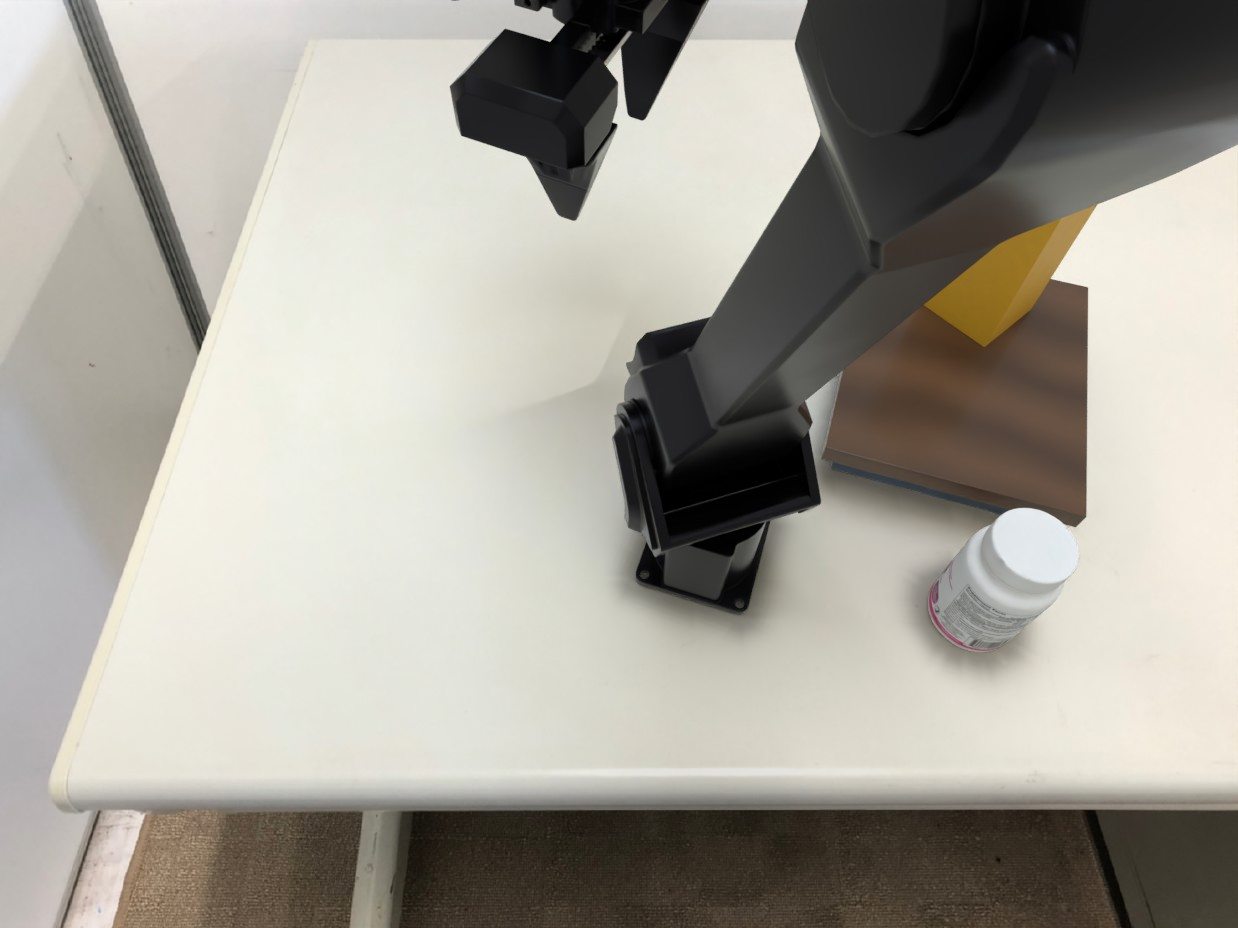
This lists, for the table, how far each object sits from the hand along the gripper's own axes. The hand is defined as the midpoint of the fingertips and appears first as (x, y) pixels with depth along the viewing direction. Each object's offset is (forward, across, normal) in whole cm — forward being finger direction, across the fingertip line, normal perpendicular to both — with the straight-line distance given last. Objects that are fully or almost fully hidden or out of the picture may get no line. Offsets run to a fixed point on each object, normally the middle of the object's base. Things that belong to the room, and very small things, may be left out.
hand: (604, 164), depth 44 cm
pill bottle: (+12, +11, +28) cm, 32 cm away
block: (+8, -7, +23) cm, 25 cm away
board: (+13, -2, +23) cm, 26 cm away
